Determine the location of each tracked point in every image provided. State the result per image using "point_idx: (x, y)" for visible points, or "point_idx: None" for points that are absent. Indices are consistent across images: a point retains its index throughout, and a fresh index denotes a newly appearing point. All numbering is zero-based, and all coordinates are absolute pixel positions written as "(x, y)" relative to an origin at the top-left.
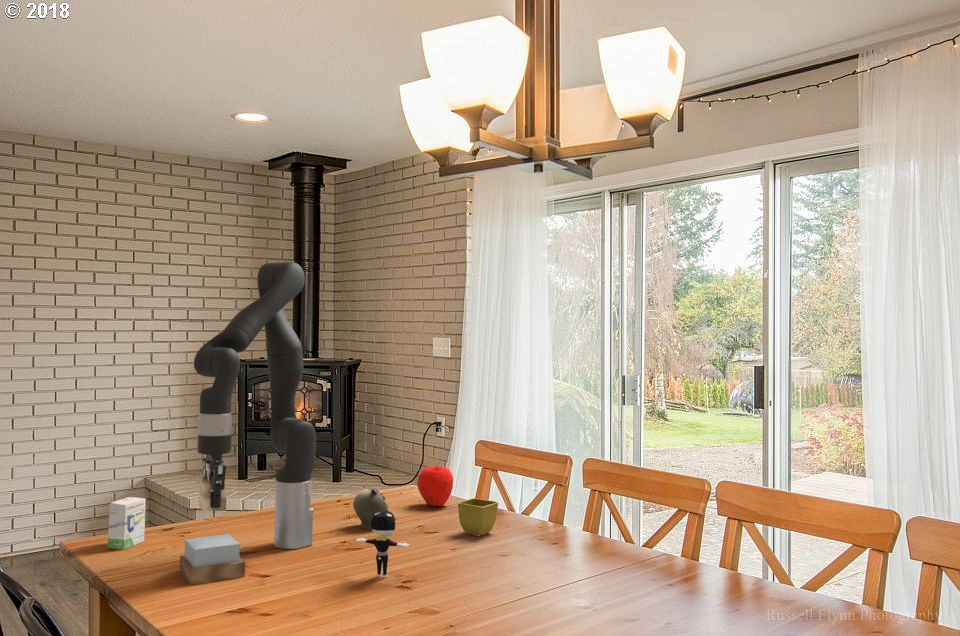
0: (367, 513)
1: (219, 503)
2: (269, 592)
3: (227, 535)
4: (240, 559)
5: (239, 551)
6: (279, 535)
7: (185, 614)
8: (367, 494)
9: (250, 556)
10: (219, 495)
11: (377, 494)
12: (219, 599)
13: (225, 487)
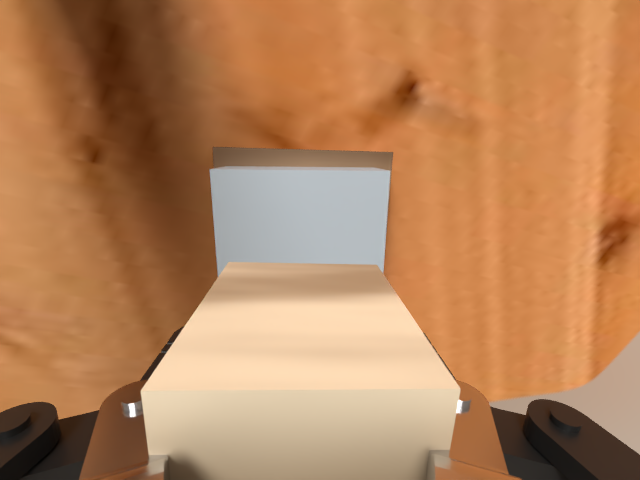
0: None
1: (425, 335)
2: (549, 134)
3: (233, 178)
4: (357, 158)
5: (382, 169)
6: None
7: (556, 337)
8: None
9: (168, 64)
10: (453, 377)
11: None
12: (516, 258)
13: (428, 356)
